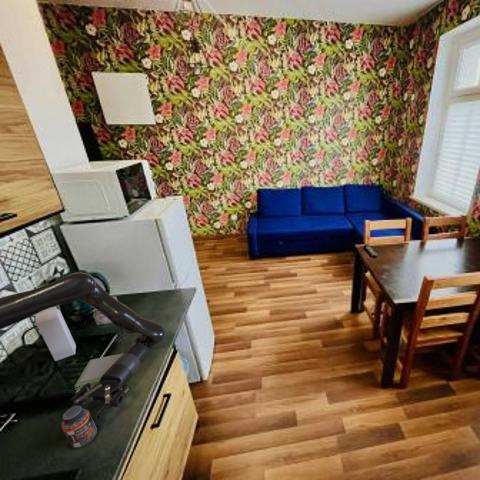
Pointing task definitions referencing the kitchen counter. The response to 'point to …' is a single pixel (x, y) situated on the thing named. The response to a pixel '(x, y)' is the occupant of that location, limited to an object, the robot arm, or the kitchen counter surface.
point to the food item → (101, 317)
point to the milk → (55, 333)
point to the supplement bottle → (78, 426)
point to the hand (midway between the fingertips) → (80, 418)
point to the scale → (96, 370)
